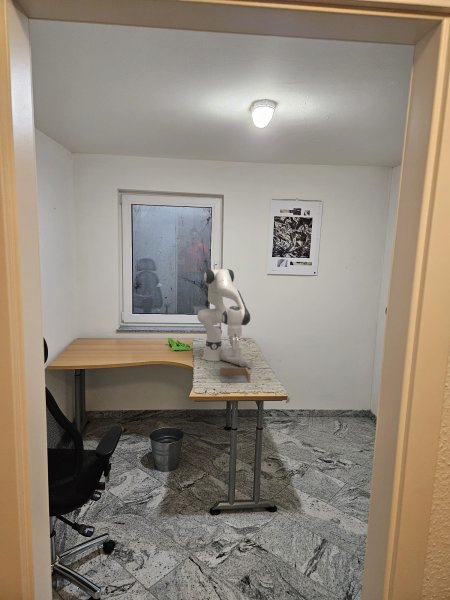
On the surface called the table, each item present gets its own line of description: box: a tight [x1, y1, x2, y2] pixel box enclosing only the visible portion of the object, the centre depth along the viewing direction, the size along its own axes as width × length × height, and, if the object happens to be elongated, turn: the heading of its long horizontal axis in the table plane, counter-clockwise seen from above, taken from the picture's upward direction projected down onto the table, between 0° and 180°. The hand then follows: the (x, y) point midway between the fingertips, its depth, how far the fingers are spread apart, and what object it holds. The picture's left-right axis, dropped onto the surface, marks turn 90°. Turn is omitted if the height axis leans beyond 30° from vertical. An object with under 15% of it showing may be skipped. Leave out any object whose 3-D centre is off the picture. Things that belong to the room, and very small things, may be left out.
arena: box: [219, 367, 251, 384], centre depth 231 cm, size 13×18×6 cm
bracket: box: [226, 347, 242, 359], centre depth 227 cm, size 9×4×6 cm, turn 95°
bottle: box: [220, 348, 253, 369], centre depth 264 cm, size 9×9×30 cm
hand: (233, 354), depth 228 cm, fingers closed on bracket, 2 cm apart
